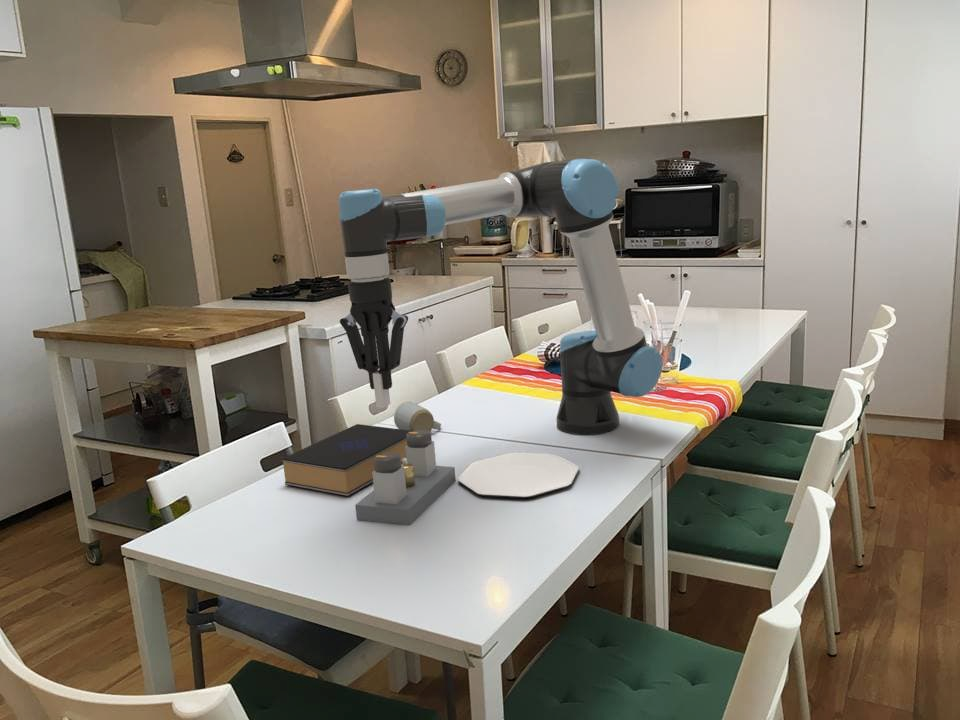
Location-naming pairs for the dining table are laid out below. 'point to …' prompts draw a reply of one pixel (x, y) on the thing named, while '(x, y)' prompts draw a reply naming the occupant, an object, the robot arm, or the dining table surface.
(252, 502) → the dining table surface
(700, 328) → the dining table surface
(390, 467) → the knob
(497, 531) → the dining table surface
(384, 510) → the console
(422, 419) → the ceramic mug
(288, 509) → the dining table surface
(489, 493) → the plate
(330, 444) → the book
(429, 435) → the knob
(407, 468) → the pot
